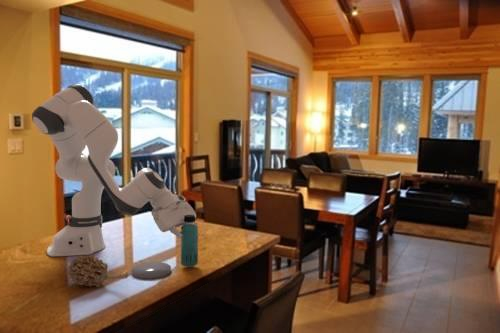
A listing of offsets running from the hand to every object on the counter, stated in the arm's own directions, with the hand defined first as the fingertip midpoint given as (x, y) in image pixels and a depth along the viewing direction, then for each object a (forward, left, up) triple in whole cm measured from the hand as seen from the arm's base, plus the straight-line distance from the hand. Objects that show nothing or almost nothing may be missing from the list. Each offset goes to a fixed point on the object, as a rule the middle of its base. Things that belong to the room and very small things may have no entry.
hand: (188, 233), depth 155 cm
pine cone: (-32, -6, -13) cm, 35 cm away
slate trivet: (-14, +1, -13) cm, 19 cm away
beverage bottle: (0, 0, -13) cm, 13 cm away
